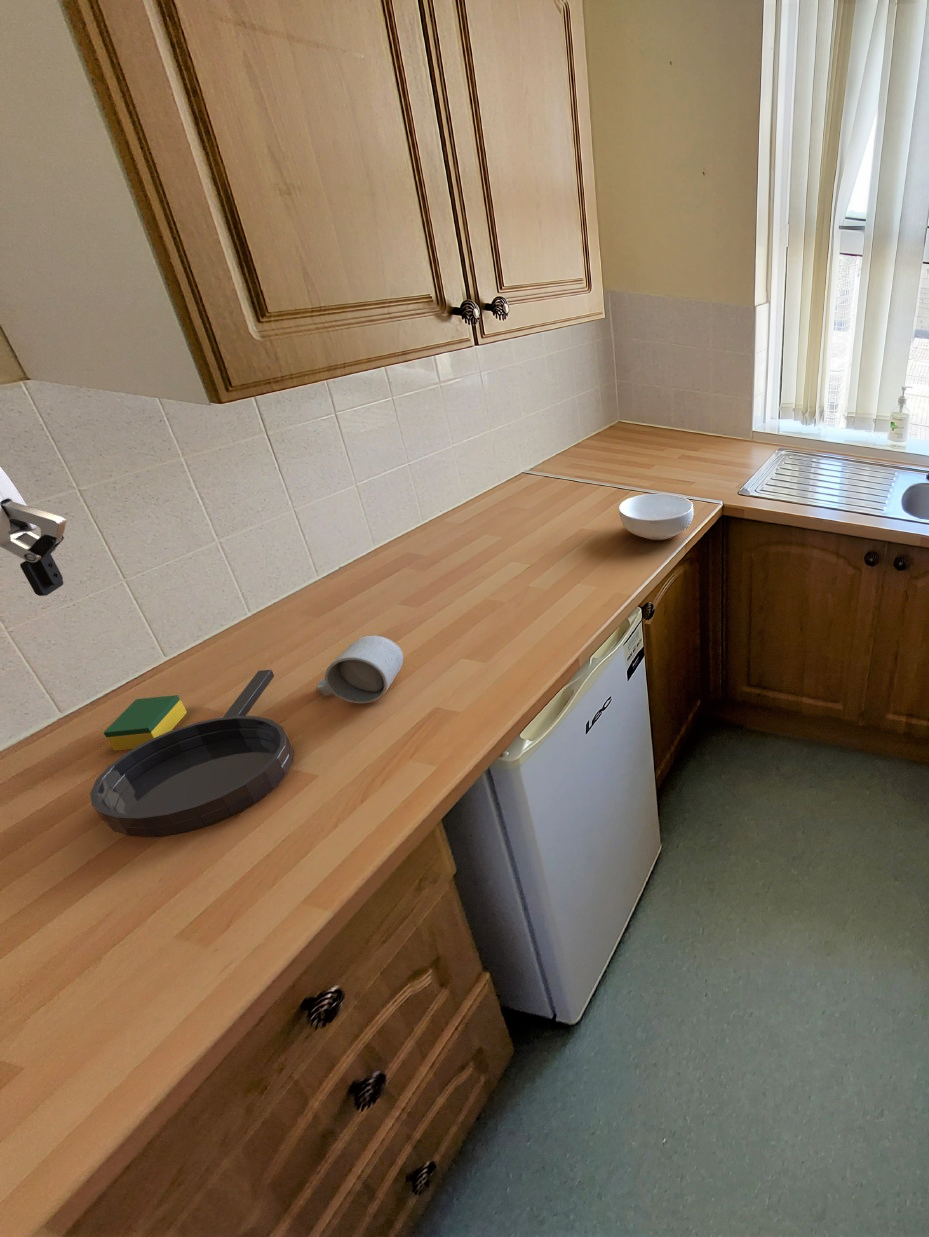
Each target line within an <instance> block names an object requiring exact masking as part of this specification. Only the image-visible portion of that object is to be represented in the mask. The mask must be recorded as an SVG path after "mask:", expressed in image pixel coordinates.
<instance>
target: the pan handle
mask: <svg viewBox="0 0 929 1237" xmlns="http://www.w3.org/2000/svg"><path fill="white" fill-rule="evenodd" d="M274 678H275V675H274V672H273V669H262V670H258V671H257V672H255V675H254V676H253V677H252V679H251V680H250V681H249V682H248V684H247V685H246V686H245V687H244V689H243V690H242V692H240V694H239V695H238V697H237V698H236V699H235V700H234V702H233V703H232V704H231V706H229V708H228V709H227V711H226V712H225V713H224V715H223V716H222V717H232V716H248V713H249V712H250V711H251V709H253V706H254V705H255V704H256V703H257V701H258V700H259V698H260V697H261V695H262V694H263V693H264V691H265V690H266V688H268V686H269V684H270V683H271V682H272V680H273V679H274Z"/></svg>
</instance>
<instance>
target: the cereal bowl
mask: <svg viewBox="0 0 929 1237" xmlns="http://www.w3.org/2000/svg"><path fill="white" fill-rule="evenodd" d="M618 514H619V518H620V522H621V524H622V525H623V527H624V528H625V529H626V530H627V531H629V532H630V533H631V534H633V535H635V536H637V537H641V538H645V539H647V540H650V541H651V540H652V541H663V540H669V539H671V538H673V537H675V536H677V535H679V534H681V533H683V532H685V531H686V530H687V529H688V528H689V527H690V526H691V524H692V522H693V519H694V504H693V502H692V501H691V500H689V499H688V498H686V497H684V496H680V495H676V494H672V493H671V494H669V493H645V494H640V495H635V496H631V497H628V498H627V499H625V500H623V501H622V502H621V503H620V504H619V506H618Z"/></svg>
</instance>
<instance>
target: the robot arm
mask: <svg viewBox="0 0 929 1237" xmlns="http://www.w3.org/2000/svg"><path fill="white" fill-rule="evenodd" d="M66 525H67V520H66V518H65V517H63V516H62V515H58V514H55V513H51V512H48V511H44V510H41V509H38V508H35V507H32V506H29V505H27V503H26V502H25V500H24V498H23V497H22V495H21V494H20V492H19V490H18V489H17V488H16V486H15V484H14V483H13V482H12V481H11V479H10V477H9V476H8V474H7V473H6V472H5V470H4V469H3V468H2V467H1V466H0V548H2V549H4V550H6V551H7V552H9V553H11V554H13V555H15V556H17V557H18V558H20V559H22V560H24V561H22V562H21V563H19V567H20V569H21V571H22V572H23V574H24V577H25V578H26V579H27V582H28V584H29V585H30V587H31V589H32V591H33V593H34V594H35V595H37V596H39V597H47V596H48V595H50V594H51V593H53V592H54V591H56V590H57V589H59V588H60V587H62V586H63V585H64V576H63V575H62V573H61V570H60V569H59V567H58V565H57V563H56V562H55V560H54V558H53V556H52V553H54V552H55V551H56V549H57V548H58V546H59V545H60V544H61V543H62V542H63V540H64V539H65V537H64V534H65V530H66ZM37 527H38V528H39V530H40V536H39V535H37V534H35V533H33V531H35V530H36V529H37Z"/></svg>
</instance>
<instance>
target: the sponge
mask: <svg viewBox="0 0 929 1237" xmlns="http://www.w3.org/2000/svg"><path fill="white" fill-rule="evenodd" d="M186 714H188V711H187V710H186V708H185V706H184V704H183V702H182V700H181V699H180V696H179V695H178V694H176V695H165V696H153V697H143V698H136V699H135V700H134V701H133V702H132V703H130V704H129V706H127V708H126V709H125V710H124V711H122V713H120V715H119V716H118V717H117V718H116V719H115V720H114V721H113V722H112V723H111V724H110V725H109V726H108V727H107V728H106V729H105V730H104V731H103V735H104V736H105V738H106V740H107V741H108V743H109V745H110V747H112V750H113V751H115V752H116V751H126V750H132V749H134V748H136V747H137V746H139V745H141V744H143V743H145V742H146V741H148V740H151V739H153V738H155V737H158V736H160V735H162V734H165V733H167V732H169V731H172V730H174V728H176V726H177V725H178V724H179V723H180V721H181V720H182V719H183V718H184V716H186Z"/></svg>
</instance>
